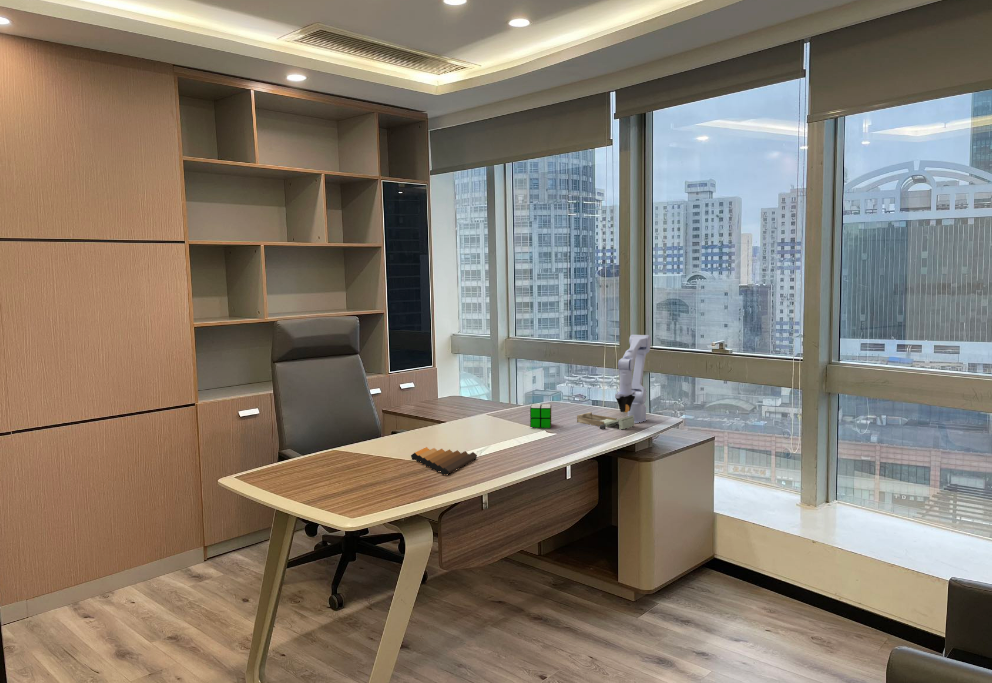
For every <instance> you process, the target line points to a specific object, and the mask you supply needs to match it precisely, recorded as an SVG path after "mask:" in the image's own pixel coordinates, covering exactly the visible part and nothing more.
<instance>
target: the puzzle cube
mask: <svg viewBox="0 0 992 683" xmlns="http://www.w3.org/2000/svg"><path fill="white" fill-rule="evenodd" d="M529 415H530V416H529V418H530V419H529V426H530V427H535V428H534V429H551V428H552V404H548V403H546V404H545V403H544V404H540V403H539V404H536V403H534V404H533V403H531V405H530V408H529Z"/></svg>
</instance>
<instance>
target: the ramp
mask: <svg viewBox="0 0 992 683" xmlns="http://www.w3.org/2000/svg"><path fill="white" fill-rule="evenodd" d="M633 417H634V416H633V415H631V416H628V415H627V416H624V417H621V418H620V417H619V418H617V420H610V419H606V420H602V421H603V422H604V425H606V428H609V426H610V427H614V426H616V424H617V425H618V427H619V428H618V429H619V430H620V429H624V430H626V429H625V428H627V429H630V428H629V427H631V428H633V427H632V426H634V427H635V423H634V418H633Z"/></svg>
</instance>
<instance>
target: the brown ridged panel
mask: <svg viewBox="0 0 992 683" xmlns="http://www.w3.org/2000/svg"><path fill="white" fill-rule="evenodd" d="M410 457H411V460H414V459H416V462H417V461H421V462H420V464H421V463H423V464H422V465H424V464H426V465H425V467H426V466H430V467H429V468H430V469H431V468H432V469H431V470H433V469H436V470H435V472H436V471H441V472H440V474H449V473H451V472H453V471H455V470H456V469H458V468H460V467H461V468H463V467H465V466H466V465H465V464H467V463H468V464H470V463H472V462H474V461H475V460H476V459H477V457H478V454H476V453H475V452H474V451H472V452H470V453H468V452H467V451H466V450H464V451H463V452H460V451H459V450H458V449H457V450H456V451H452V449H447V450H444V449H443V448H440V449H438V450H437V449H436V448H435V447H433V448H431V449H430V448H428V447H427V446H425V447H423V448H421V449H419V450H417V451H415V452H413V453H412V454H411V455H410ZM474 459H475V460H474ZM473 460H474V461H473ZM471 461H472V462H471ZM469 462H470V463H469ZM468 464H467V465H468ZM464 465H465V466H464ZM462 466H463V467H462ZM461 468H460V469H461ZM458 470H459V469H458ZM456 471H457V470H456ZM456 471H455V472H456ZM453 473H454V472H453ZM451 474H452V473H451ZM449 475H450V474H449Z"/></svg>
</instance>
